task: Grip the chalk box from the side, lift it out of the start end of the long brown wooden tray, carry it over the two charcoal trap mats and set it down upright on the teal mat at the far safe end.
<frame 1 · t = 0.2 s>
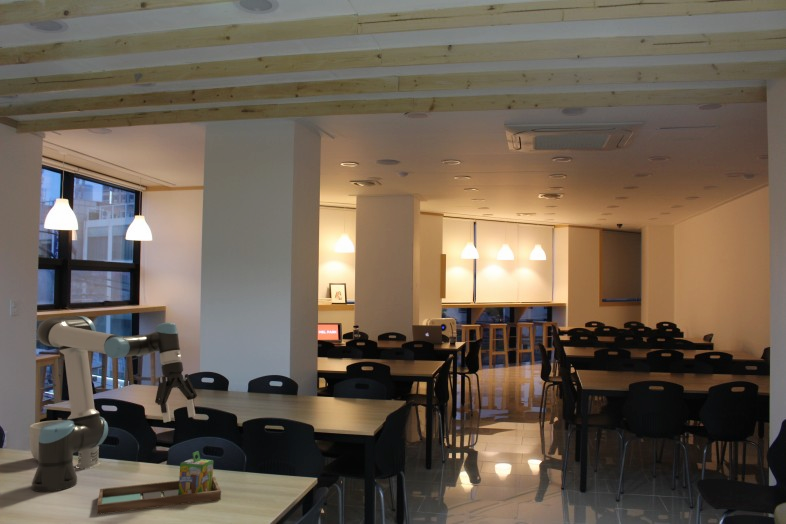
hand: (180, 419, 225), 27 cm above the table, tool tilted 15°, fingers open, 13 cm apart
trap mats: (160, 498, 216), resting in brown wooden tray
french press: (88, 465, 256), on the table
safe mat: (121, 502, 211), resting in brown wooden tray
planter: (50, 459, 265), on the table
chalk box: (195, 494, 221), resting in brown wooden tray, touching trap mats
brown wooden tray: (160, 498, 216), on the table
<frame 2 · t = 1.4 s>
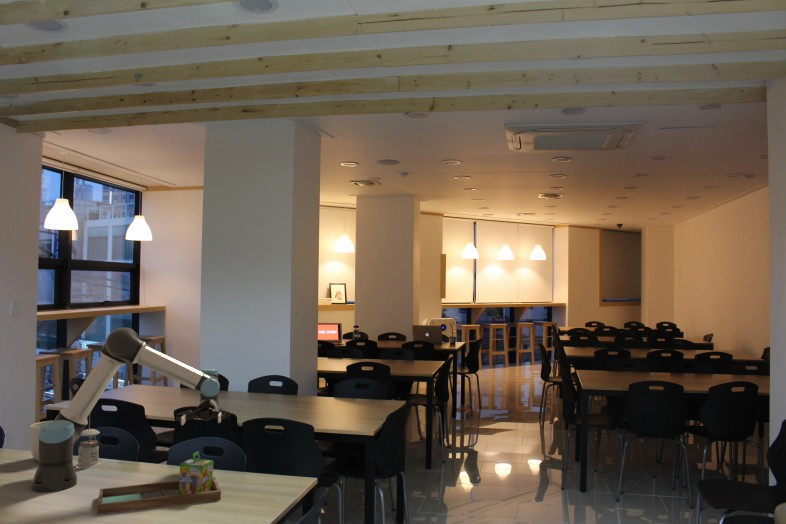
hand: (200, 420, 231), 25 cm above the table, tool horizontal, fingers open, 13 cm apart
nothing on the table moved.
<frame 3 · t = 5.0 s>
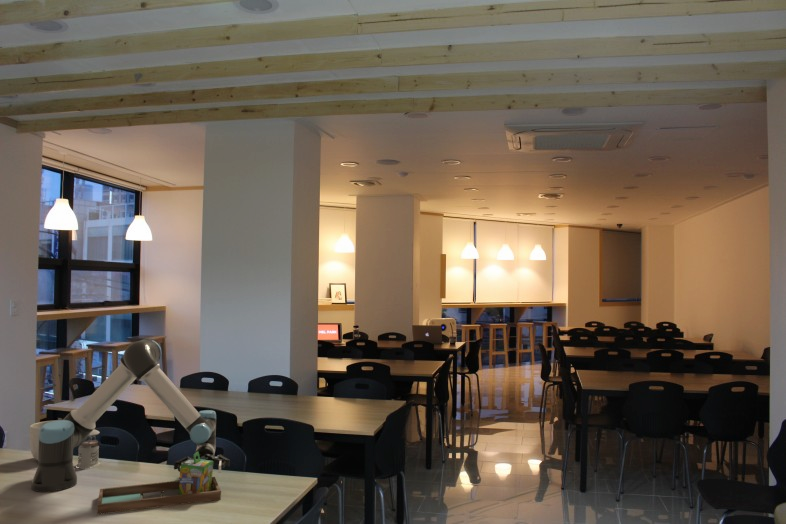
hand: (200, 470, 221), 9 cm above the table, tool horizontal, fingers open, 13 cm apart
chalk box: (194, 494, 220), resting in brown wooden tray, touching gripper
everything else where it was.
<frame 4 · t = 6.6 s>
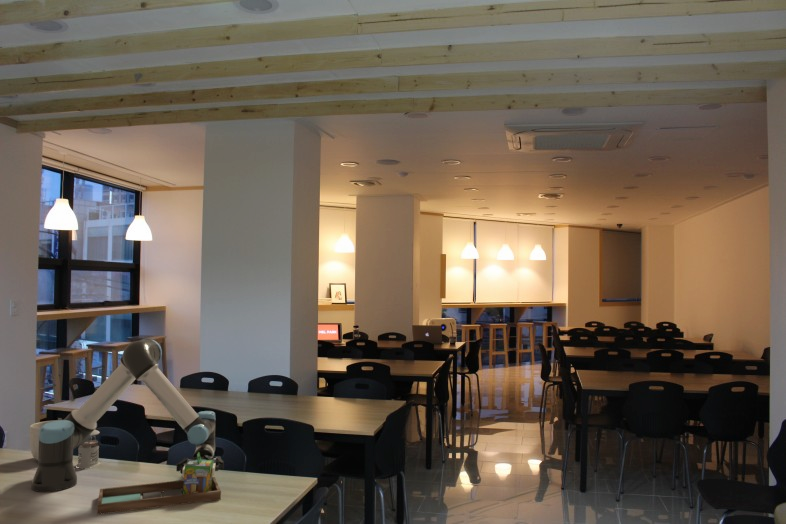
hand: (198, 472, 218), 9 cm above the table, tool horizontal, fingers closed on chalk box, 10 cm apart
chalk box: (197, 495, 220), resting in brown wooden tray, touching gripper
everything else where it was.
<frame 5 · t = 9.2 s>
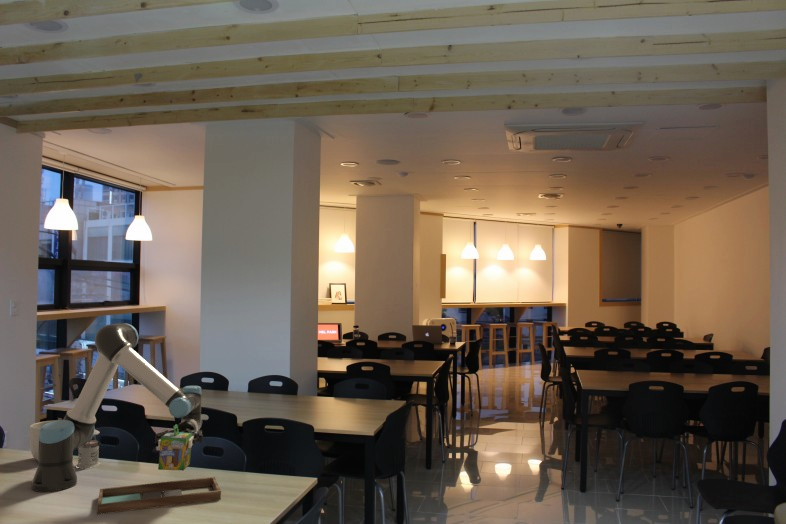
hand: (174, 444, 214), 20 cm above the table, tool horizontal, fingers closed on chalk box, 10 cm apart
chalk box: (174, 467, 216), point 11 cm above the table, touching gripper
everything else where it was.
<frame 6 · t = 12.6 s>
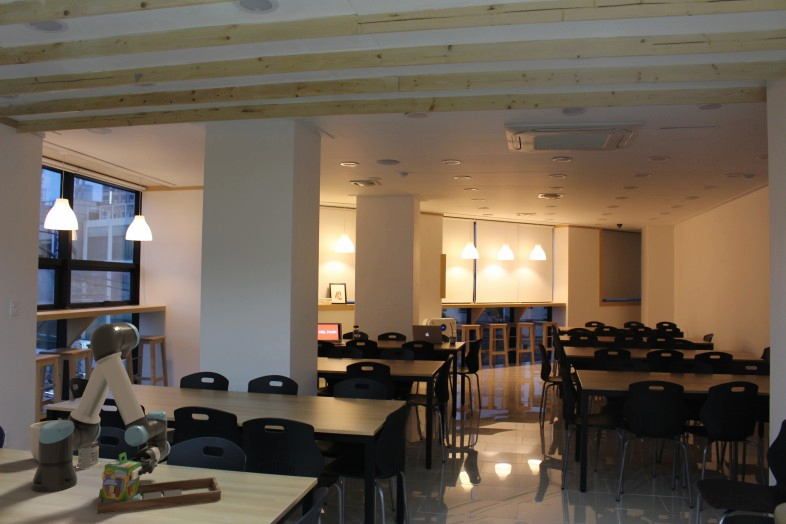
hand: (118, 475, 207), 11 cm above the table, tool horizontal, fingers closed on chalk box, 10 cm apart
chalk box: (119, 497, 210), point 2 cm above the table, touching gripper, brown wooden tray
everything else where it was.
when the fingers open (11 cm above the table, at t = 13.2 s): chalk box drops 2 cm, resting on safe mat, trap mats.
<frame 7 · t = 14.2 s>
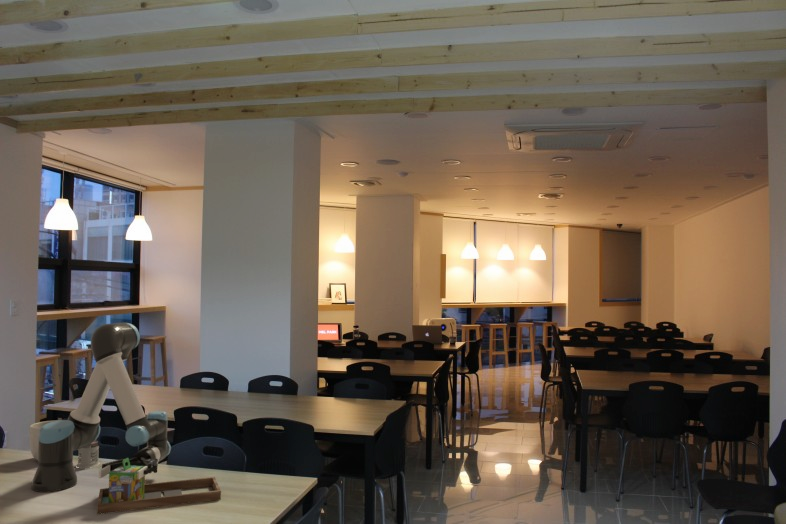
hand: (118, 474, 209), 11 cm above the table, tool horizontal, fingers open, 13 cm apart
chalk box: (126, 502, 210), resting on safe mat, touching gripper, trap mats
everything else where it was.
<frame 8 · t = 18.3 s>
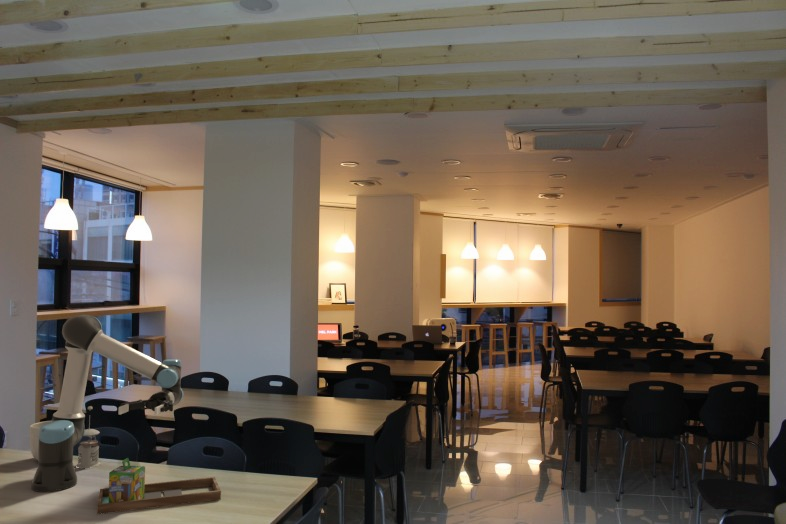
hand: (137, 411, 222), 30 cm above the table, tool horizontal, fingers open, 13 cm apart
chalk box: (126, 502, 210), resting on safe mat, trap mats
everything else where it was.
at the end: chalk box inside the target area (2.1 cm from its centre), resting on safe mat; chalk box tilted 0°; the gripper is holding nothing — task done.
